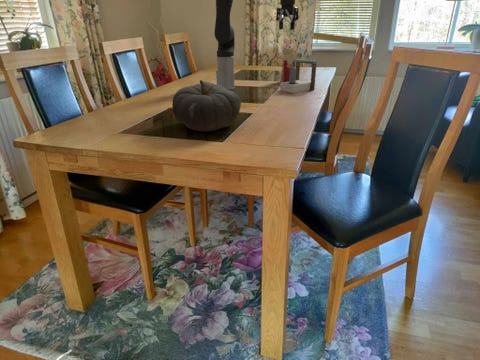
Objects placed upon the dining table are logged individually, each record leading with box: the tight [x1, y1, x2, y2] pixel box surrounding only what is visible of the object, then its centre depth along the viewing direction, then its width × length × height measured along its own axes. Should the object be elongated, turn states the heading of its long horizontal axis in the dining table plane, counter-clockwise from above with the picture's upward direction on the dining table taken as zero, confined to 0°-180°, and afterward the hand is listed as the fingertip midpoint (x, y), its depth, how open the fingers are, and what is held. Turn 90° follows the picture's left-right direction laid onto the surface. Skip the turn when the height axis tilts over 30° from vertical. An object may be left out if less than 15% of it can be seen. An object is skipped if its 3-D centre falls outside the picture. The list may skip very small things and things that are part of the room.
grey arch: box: [293, 58, 318, 92], centre depth 183 cm, size 4×14×15 cm, turn 36°
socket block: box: [280, 79, 311, 94], centre depth 183 cm, size 13×10×4 cm
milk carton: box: [279, 47, 296, 84], centre depth 199 cm, size 9×9×20 cm
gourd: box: [171, 79, 242, 133], centre depth 124 cm, size 25×25×17 cm
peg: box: [289, 67, 296, 84], centre depth 180 cm, size 3×3×12 cm
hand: (286, 29), depth 177 cm, fingers open, 8 cm apart
